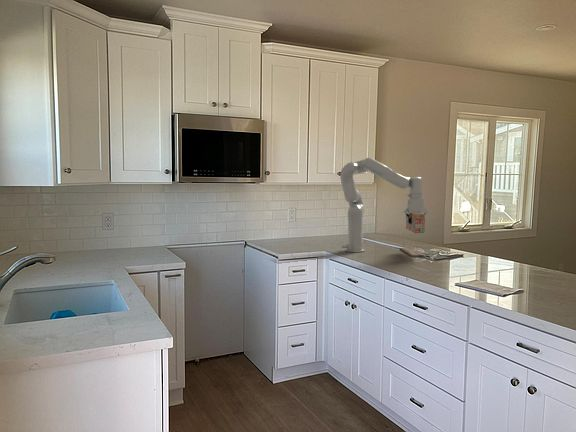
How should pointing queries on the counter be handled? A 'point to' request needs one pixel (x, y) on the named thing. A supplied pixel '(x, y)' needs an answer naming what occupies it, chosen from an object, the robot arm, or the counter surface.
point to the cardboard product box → (416, 223)
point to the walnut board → (412, 252)
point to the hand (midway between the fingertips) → (415, 223)
